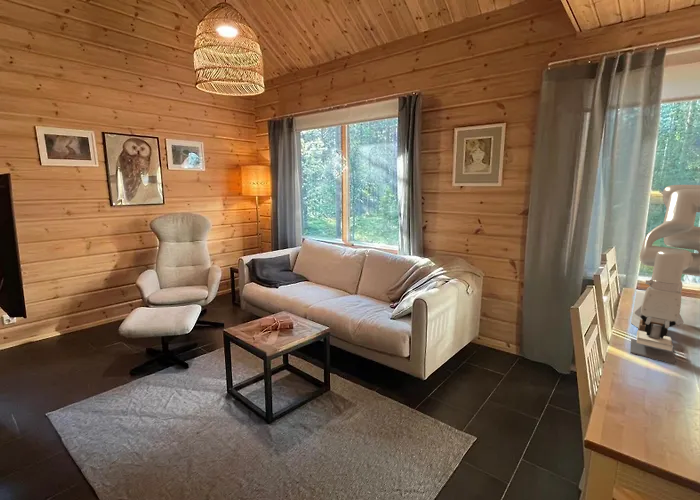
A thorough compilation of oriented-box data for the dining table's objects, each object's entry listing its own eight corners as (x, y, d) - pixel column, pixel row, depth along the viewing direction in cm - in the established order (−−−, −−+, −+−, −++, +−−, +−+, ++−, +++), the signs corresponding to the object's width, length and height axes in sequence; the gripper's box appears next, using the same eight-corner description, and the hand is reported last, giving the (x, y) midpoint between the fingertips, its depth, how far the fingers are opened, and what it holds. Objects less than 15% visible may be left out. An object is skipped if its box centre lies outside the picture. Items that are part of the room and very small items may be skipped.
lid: (636, 335, 135) (639, 318, 134) (669, 342, 130) (673, 325, 129) (636, 342, 128) (639, 325, 127) (671, 350, 122) (675, 333, 121)
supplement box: (667, 333, 146) (674, 298, 143) (642, 331, 148) (648, 296, 145) (653, 325, 155) (660, 291, 152) (629, 322, 156) (635, 289, 153)
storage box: (637, 333, 146) (640, 319, 144) (663, 338, 141) (666, 324, 140) (637, 339, 139) (640, 325, 138) (664, 345, 134) (667, 330, 133)
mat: (630, 340, 139) (631, 338, 139) (672, 349, 132) (672, 348, 131) (630, 353, 128) (630, 351, 128) (675, 364, 121) (675, 362, 121)
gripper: (634, 283, 127) (625, 332, 131) (698, 293, 117) (686, 346, 121) (634, 279, 133) (626, 326, 136) (695, 288, 123) (684, 339, 126)
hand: (654, 335), depth 128 cm, fingers closed on lid, 3 cm apart
